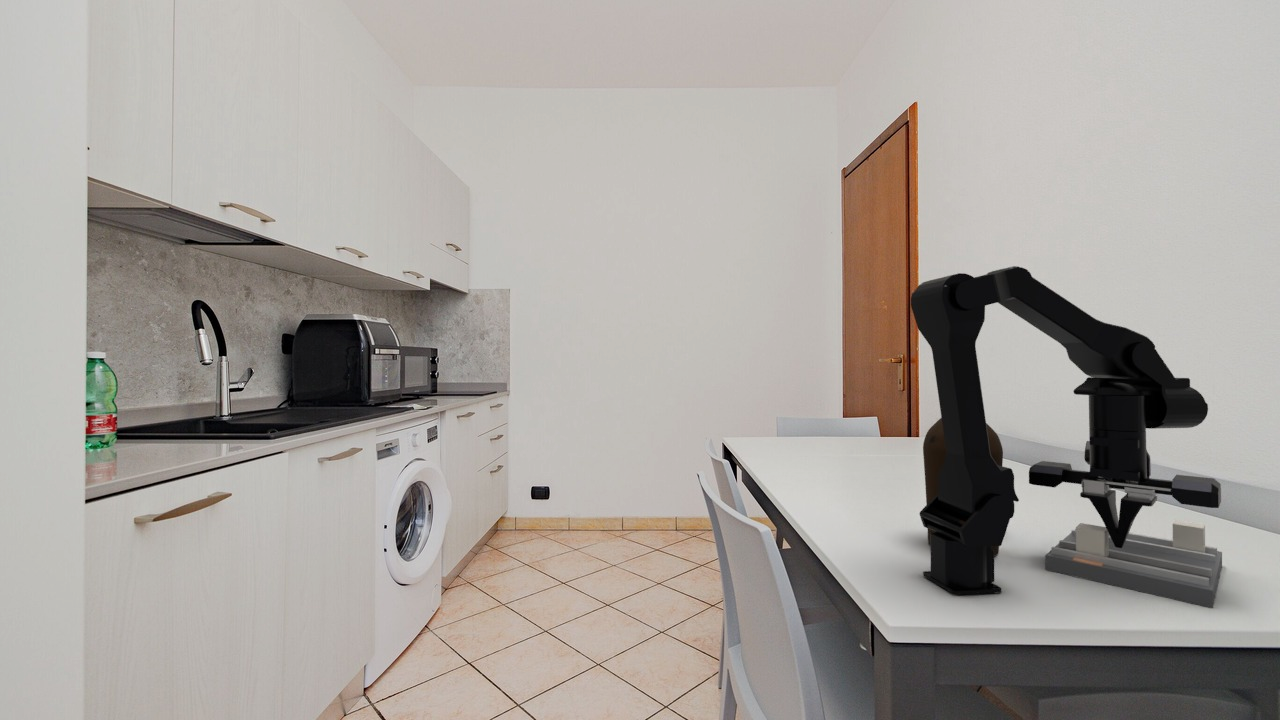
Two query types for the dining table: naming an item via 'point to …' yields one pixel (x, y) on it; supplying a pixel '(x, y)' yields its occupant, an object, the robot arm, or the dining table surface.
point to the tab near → (1092, 539)
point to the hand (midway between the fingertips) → (1119, 547)
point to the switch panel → (1144, 567)
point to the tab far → (1189, 536)
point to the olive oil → (936, 456)
